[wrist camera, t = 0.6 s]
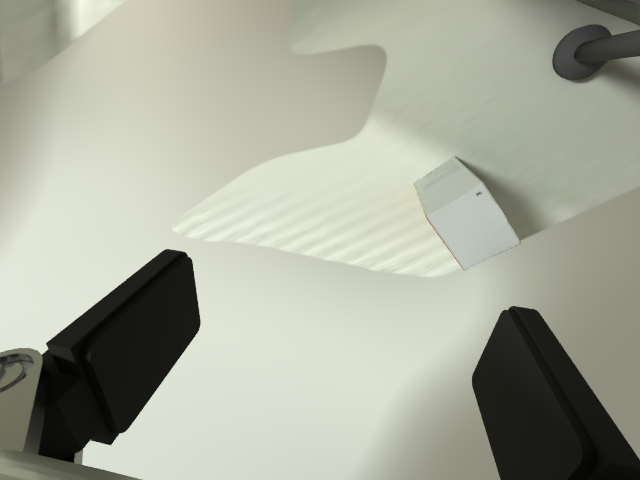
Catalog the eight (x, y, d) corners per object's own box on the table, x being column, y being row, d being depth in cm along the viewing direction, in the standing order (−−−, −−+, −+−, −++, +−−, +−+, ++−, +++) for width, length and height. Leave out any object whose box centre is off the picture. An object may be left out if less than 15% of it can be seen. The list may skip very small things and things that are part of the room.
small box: (412, 182, 43) (424, 216, 32) (454, 154, 41) (484, 180, 29) (442, 226, 45) (464, 272, 34) (484, 201, 43) (523, 243, 31)
